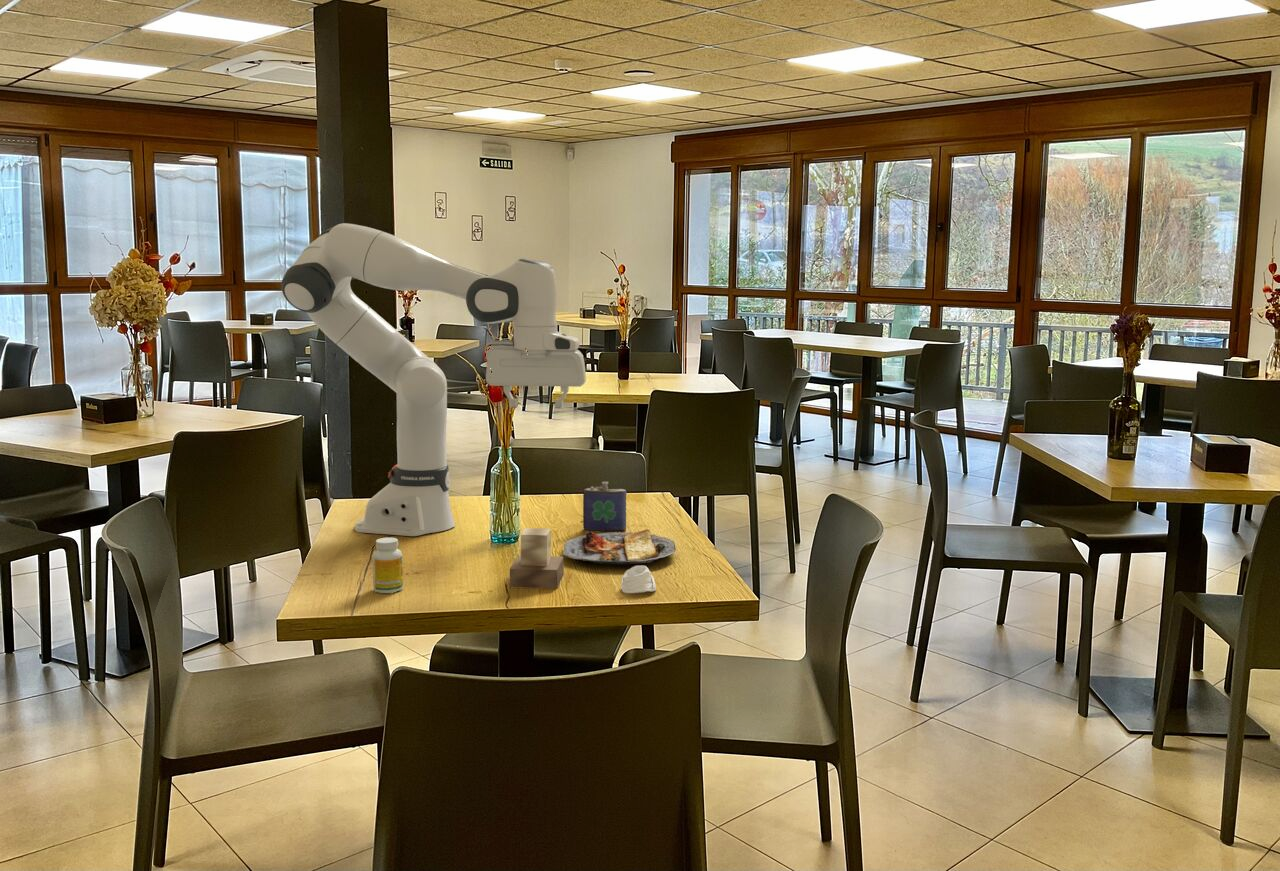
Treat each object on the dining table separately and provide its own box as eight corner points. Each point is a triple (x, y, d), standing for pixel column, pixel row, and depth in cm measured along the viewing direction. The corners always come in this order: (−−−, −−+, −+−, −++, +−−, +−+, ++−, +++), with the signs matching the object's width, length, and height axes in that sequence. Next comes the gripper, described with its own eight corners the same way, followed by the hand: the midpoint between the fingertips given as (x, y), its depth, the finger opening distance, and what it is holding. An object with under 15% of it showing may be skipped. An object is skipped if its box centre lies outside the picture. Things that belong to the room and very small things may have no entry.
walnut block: (510, 589, 201) (509, 568, 200) (518, 575, 210) (517, 555, 209) (557, 590, 200) (557, 569, 200) (563, 576, 209) (563, 556, 208)
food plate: (567, 540, 236) (567, 524, 235) (672, 540, 236) (672, 525, 236) (560, 572, 211) (560, 555, 211) (677, 573, 212) (677, 555, 211)
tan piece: (520, 565, 202) (520, 534, 201) (525, 558, 207) (525, 528, 206) (546, 566, 202) (547, 535, 201) (550, 558, 207) (550, 528, 206)
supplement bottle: (369, 588, 199) (368, 538, 198) (397, 584, 202) (395, 534, 201) (379, 596, 195) (377, 545, 193) (407, 591, 198) (405, 541, 196)
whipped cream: (659, 600, 197) (662, 576, 196) (623, 599, 195) (626, 574, 194) (651, 585, 204) (654, 561, 203) (617, 583, 203) (619, 559, 202)
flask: (626, 529, 245) (626, 480, 243) (625, 532, 242) (625, 483, 240) (583, 528, 245) (583, 479, 244) (582, 532, 242) (582, 482, 240)
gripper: (481, 340, 213) (482, 409, 215) (583, 341, 212) (583, 410, 214) (488, 338, 219) (489, 405, 221) (586, 339, 218) (586, 406, 220)
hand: (536, 407), depth 218 cm, fingers open, 8 cm apart
